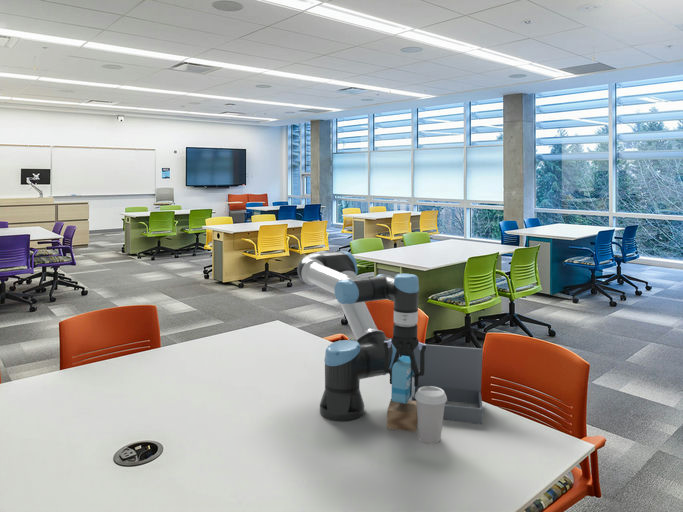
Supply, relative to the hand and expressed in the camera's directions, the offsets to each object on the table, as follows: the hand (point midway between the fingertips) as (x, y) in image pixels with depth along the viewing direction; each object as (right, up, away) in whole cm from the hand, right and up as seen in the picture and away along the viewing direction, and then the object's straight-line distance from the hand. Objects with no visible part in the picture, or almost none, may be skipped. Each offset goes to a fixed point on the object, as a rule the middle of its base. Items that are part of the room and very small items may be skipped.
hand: (403, 394), depth 161 cm
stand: (0, -10, +1) cm, 10 cm away
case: (+16, -8, +12) cm, 21 cm away
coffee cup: (+7, -11, -8) cm, 15 cm away
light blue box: (0, -1, 0) cm, 1 cm away
